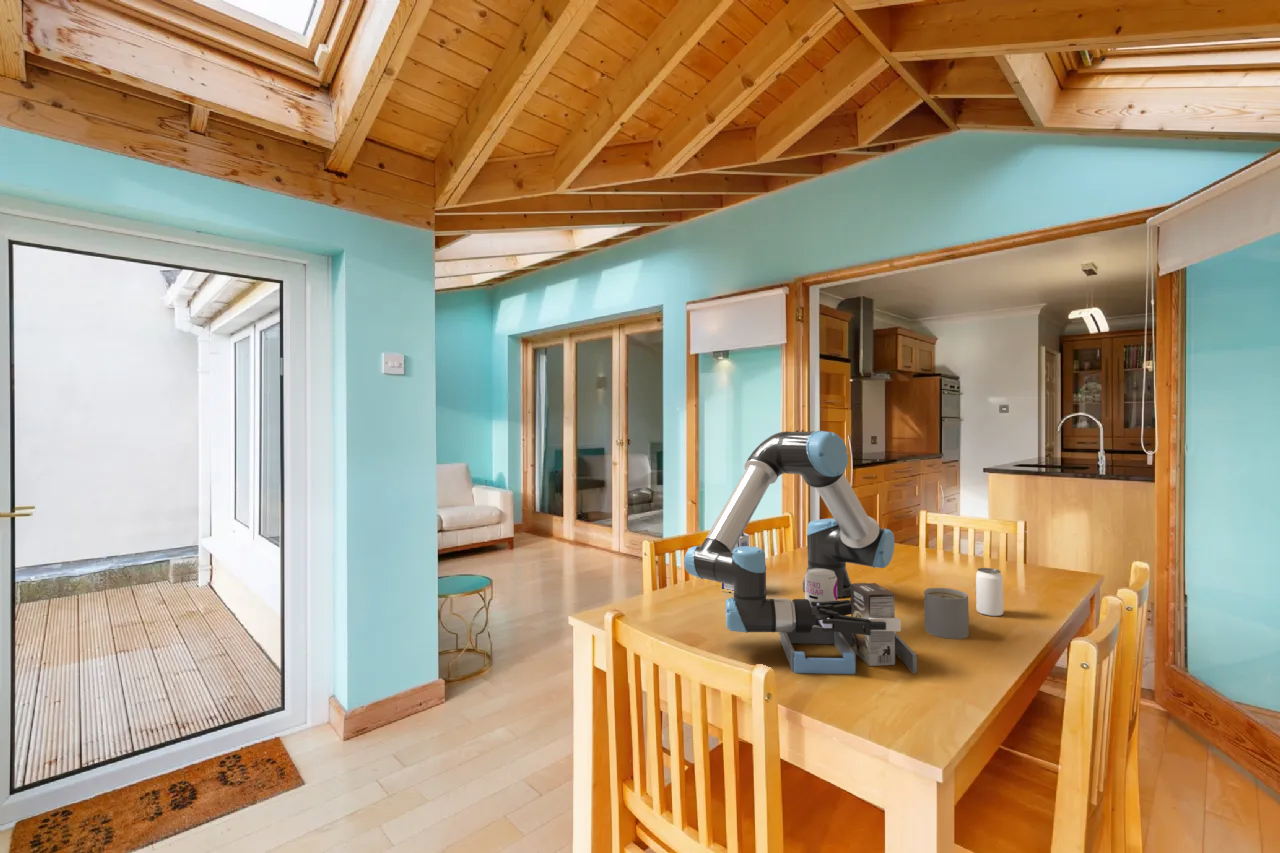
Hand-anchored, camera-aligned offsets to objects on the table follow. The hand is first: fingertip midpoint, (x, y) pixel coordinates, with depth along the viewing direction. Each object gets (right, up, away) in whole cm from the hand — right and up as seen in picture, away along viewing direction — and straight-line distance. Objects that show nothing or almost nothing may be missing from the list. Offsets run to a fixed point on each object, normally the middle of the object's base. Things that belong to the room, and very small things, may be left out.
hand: (891, 616), depth 133 cm
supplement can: (-10, -10, +20) cm, 24 cm away
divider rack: (-11, -10, +1) cm, 14 cm away
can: (+40, -9, +29) cm, 51 cm away
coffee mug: (+22, -9, +17) cm, 29 cm away
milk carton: (-27, -10, +56) cm, 63 cm away
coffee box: (-4, -10, 0) cm, 11 cm away
